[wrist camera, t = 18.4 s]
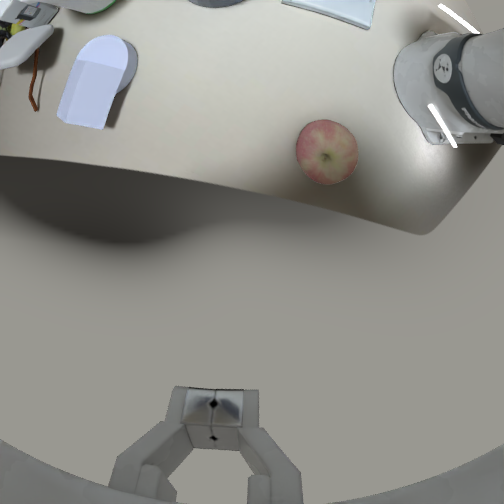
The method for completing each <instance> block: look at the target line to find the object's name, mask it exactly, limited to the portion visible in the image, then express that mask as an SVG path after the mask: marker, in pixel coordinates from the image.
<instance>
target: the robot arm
mask: <svg viewBox="0 0 504 504" xmlns="http://www.w3.org/2000/svg"><path fill="white" fill-rule="evenodd" d="M438 7H440V8H441V9H443V10H444V11H445V12H447V13H448V14H450V15H451V16H452V17H454V18H455V19H456V20H458V21H459V22H460V23H462V24H463V25H464V26H465V27H467V28H468V29H469V30H470V31H472V32H473V33H472V34H471V33H468V34H463V35H460V34H459V33H458V32H449V33H444V34H439V35H438V34H436V33H435V32H433V31H427V32H424V33H423V34H422V36H421V37H420V39H419V40H418V41H416V42H414V43H412V44H409V45H407V46H406V47H405V48H403V49H402V50H401V52H400V53H399V55H398V56H397V59H396V62H395V66H394V83H395V87H396V91H397V94H398V97H399V99H400V101H401V103H402V105H403V107H404V108H405V110H406V111H407V112H408V114H409V115H410V116H411V117H412V118H413V119H414V120H415V121H416V122H417V123H418V124H419V125H420V127H421V129H422V131H423V133H424V135H425V138H426V139H427V141H428V142H429V143H430V144H432V145H439V144H452V146H453V147H455V148H456V147H457V145H456V144H466V143H492V142H493V141H495V142H496V143H497V144H501V145H504V28H503V29H500V30H497V31H494V32H490V33H486V34H480V33H479V32H478V31H476V30H475V29H474V28H473V27H472V26H470V25H469V24H468V23H467V22H465V21H464V20H463V19H462V18H460V17H459V16H458V15H456V14H455V13H454V12H452V11H451V10H449V9H448V8H447V7H445V6H444V5H442V4H440V5H438ZM439 134H440V139H439ZM193 448H200V449H218V450H232V451H240V453H241V454H242V456H243V458H244V459H245V461H246V462H247V464H248V465H249V467H250V468H251V470H252V471H253V473H254V474H255V475H251V476H250V477H249V478H248V496H247V504H303V493H302V481H301V472H300V471H299V470H298V469H297V468H296V466H295V465H294V464H293V463H292V462H291V461H290V460H289V458H288V457H287V456H286V455H285V454H284V452H283V451H282V450H281V449H280V448H279V447H278V445H277V444H276V443H275V442H274V440H273V439H272V438H271V437H270V436H269V434H268V433H267V432H266V431H265V429H264V428H259V391H258V390H244V389H203V388H192V387H182V386H175V387H174V389H173V391H172V395H171V399H170V402H169V406H168V410H167V414H166V418H165V422H163V421H160V422H159V423H158V424H157V425H156V426H154V427H153V428H152V429H151V430H150V431H148V432H147V433H146V434H145V435H144V436H142V437H141V438H140V439H139V440H137V441H136V442H135V443H134V444H133V445H131V446H130V447H129V448H128V449H126V450H125V451H124V452H123V453H121V454H120V455H119V456H117V459H116V463H115V466H114V469H113V472H112V475H111V479H110V482H109V486H108V487H107V486H104V485H101V484H98V483H95V482H92V481H89V480H86V479H83V478H81V477H78V476H75V475H73V474H70V473H68V472H65V471H63V470H60V469H58V468H55V467H53V466H51V465H49V464H46V463H44V462H42V461H40V460H38V459H36V458H34V457H32V456H30V455H28V454H26V453H24V452H22V451H20V450H18V449H17V448H15V447H13V446H11V445H9V444H8V443H6V442H4V441H2V440H1V439H0V504H185V503H178V502H176V495H177V491H176V490H175V488H174V487H173V486H172V485H171V483H170V482H169V480H168V479H167V478H168V477H169V475H171V473H172V472H173V471H174V470H175V469H176V468H177V467H178V466H179V465H180V464H181V463H182V462H183V460H184V459H185V458H186V457H187V456H188V455H189V454H190V452H191V451H192V450H193ZM328 504H504V444H503V445H501V446H499V447H497V448H495V449H494V450H492V451H490V452H488V453H486V454H484V455H482V456H480V457H478V458H476V459H474V460H472V461H470V462H468V463H466V464H463V465H461V466H459V467H457V468H454V469H452V470H450V471H447V472H445V473H442V474H440V475H437V476H435V477H432V478H429V479H426V480H423V481H421V482H417V483H414V484H412V485H408V486H405V487H402V488H398V489H395V490H391V491H388V492H384V493H380V494H375V495H371V496H367V497H363V498H357V499H352V500H347V501H341V502H335V503H328Z"/></svg>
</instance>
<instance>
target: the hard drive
mask: <svg viewBox="0 0 504 504" xmlns="http://www.w3.org/2000/svg"><path fill="white" fill-rule="evenodd" d="M281 3H284V4H288V5H292V6H296V7H300V8H304V9H307V10H311V11H315V12H318V13H321V14H325V15H328V16H331V17H334V18H337V19H340V20H343V21H345V22H348V23H351V24H354V25H356V26H359V27H361V28H364V29H366V30H368V29H370V27H371V23H372V18H373V12H374V6H375V0H282V2H281Z"/></svg>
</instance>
